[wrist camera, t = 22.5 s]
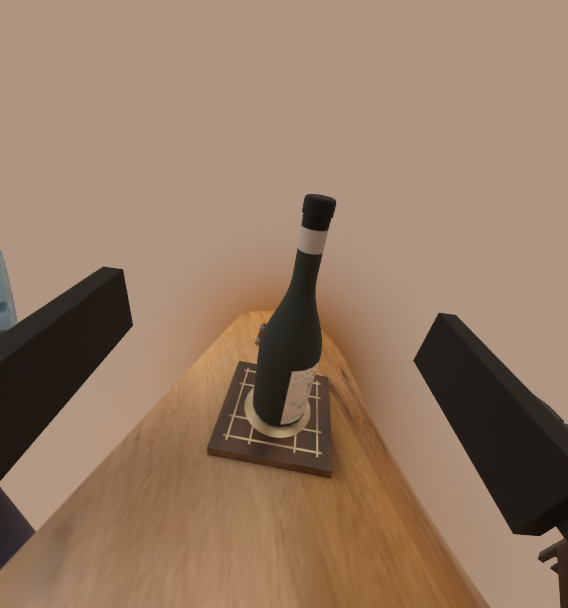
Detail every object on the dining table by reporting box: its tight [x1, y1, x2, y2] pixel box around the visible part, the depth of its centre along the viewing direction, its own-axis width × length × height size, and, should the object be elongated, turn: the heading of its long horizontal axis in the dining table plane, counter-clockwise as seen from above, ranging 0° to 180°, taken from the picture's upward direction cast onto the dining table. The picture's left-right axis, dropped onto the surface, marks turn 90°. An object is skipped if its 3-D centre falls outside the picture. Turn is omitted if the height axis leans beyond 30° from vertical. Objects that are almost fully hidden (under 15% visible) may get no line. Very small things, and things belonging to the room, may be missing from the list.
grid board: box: [207, 361, 333, 477], centre depth 41 cm, size 16×16×2 cm
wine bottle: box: [253, 194, 336, 427], centre depth 33 cm, size 8×8×30 cm
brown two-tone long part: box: [255, 323, 266, 345], centre depth 56 cm, size 2×8×4 cm, turn 147°
